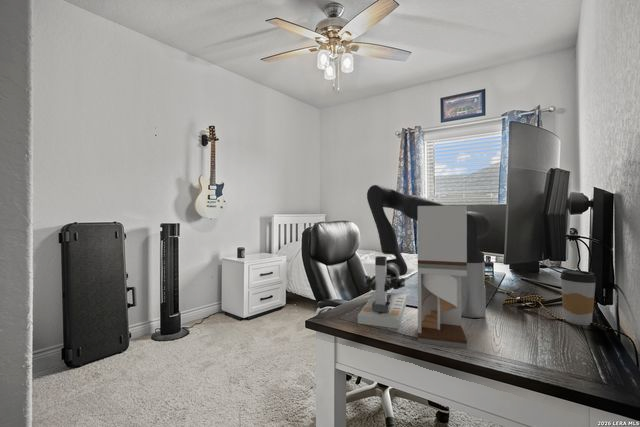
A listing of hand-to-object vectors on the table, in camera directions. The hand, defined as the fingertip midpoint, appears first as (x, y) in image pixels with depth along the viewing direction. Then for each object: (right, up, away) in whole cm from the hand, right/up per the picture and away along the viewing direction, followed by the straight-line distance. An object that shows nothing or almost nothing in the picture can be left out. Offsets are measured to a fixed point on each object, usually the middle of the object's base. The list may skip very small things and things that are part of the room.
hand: (379, 287), depth 92 cm
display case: (+14, -11, -11) cm, 21 cm away
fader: (+1, -7, +3) cm, 8 cm away
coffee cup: (+60, -10, 0) cm, 61 cm away
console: (+4, -10, +10) cm, 15 cm away
